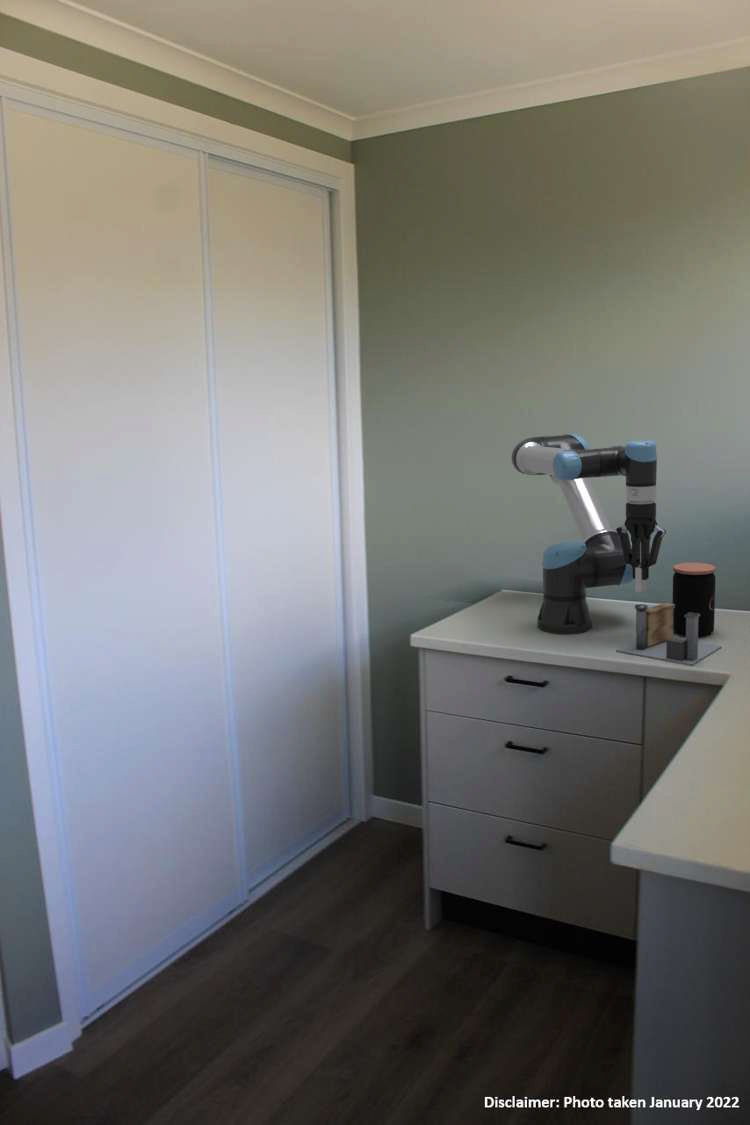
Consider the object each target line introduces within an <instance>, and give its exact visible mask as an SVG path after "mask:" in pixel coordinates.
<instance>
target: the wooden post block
mask: <svg viewBox="0 0 750 1125" xmlns="http://www.w3.org/2000/svg"><path fill="white" fill-rule="evenodd" d="M674 608H675V604H673V603H672V602H671V603H670V602H664V603H661V604H657V605H654V606H651V607H648V609H646V646H651V645H654V644H657V643H660V642H662V641H665V640H668V639H670V638H674V630H673V609H674Z"/></svg>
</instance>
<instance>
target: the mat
mask: <svg viewBox="0 0 750 1125" xmlns="http://www.w3.org/2000/svg"><path fill="white" fill-rule="evenodd" d="M666 648H667V640H665V641H662V642H660V643H657V644H654V645H651V646H646V649H645V650H638V649H636V639H635V640H633V641H631V642H629V643H627V644H625V645H623V646H621V647H619V648H617V649H616V650H615V651H616V653H622V654H627V655H633V656H637V657H642V658H648V659H654V660H660V661H665V662H669V663H676V664H680V665H685V666H691V667H692V666H694V665H697V664H698V663H699V662H701V661H703V660H704V659H705V658H707V657H709V656H711V655H712V654H714V653H716V652H717V651H718V650H720V649H722V645H717V644H710V643H703V642H699V641H698V658H697V659H695V660H694V661H692V660H686V659H685V660H683V661H679V660H674V659H668V658H666Z"/></svg>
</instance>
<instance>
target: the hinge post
mask: <svg viewBox="0 0 750 1125" xmlns="http://www.w3.org/2000/svg"><path fill="white" fill-rule="evenodd" d="M648 608H649V607H648V604H642V603H641V604H640V603H638V604H635V605H634V609H635V611H636V613H635V614H636V616H635V617H636V618H635V620H636V621H635V622H636V623H635V627H636V628H635V631H636V632H635V640H636V649H638V650H645V649H646V609H648Z"/></svg>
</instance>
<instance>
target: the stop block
mask: <svg viewBox="0 0 750 1125" xmlns="http://www.w3.org/2000/svg"><path fill="white" fill-rule="evenodd" d="M685 652H686V639H681V638H676V637H675V638H674V637H673V638H670V639H668V640H667V648H666V658H668V659H674V660H679V661H683V660H685Z"/></svg>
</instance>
